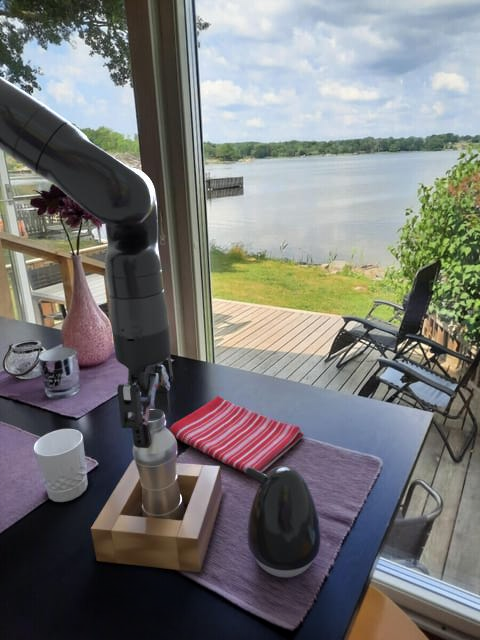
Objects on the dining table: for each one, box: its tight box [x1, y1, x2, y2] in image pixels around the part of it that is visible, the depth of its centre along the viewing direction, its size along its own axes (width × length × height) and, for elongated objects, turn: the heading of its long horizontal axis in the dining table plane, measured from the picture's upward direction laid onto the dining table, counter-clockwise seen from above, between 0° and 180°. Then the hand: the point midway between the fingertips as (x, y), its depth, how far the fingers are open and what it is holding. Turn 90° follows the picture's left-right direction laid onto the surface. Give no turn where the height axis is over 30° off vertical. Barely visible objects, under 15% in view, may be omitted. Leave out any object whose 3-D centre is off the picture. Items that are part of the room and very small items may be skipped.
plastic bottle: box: [131, 408, 186, 521], centre depth 67 cm, size 6×7×20 cm
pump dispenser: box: [245, 465, 322, 578], centre depth 61 cm, size 10×10×15 cm
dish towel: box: [168, 395, 304, 474], centre depth 92 cm, size 17×24×3 cm
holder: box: [90, 459, 223, 573], centre depth 69 cm, size 16×16×6 cm
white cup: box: [33, 428, 89, 503], centre depth 77 cm, size 8×8×10 cm
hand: (153, 428), depth 64 cm, fingers open, 8 cm apart
